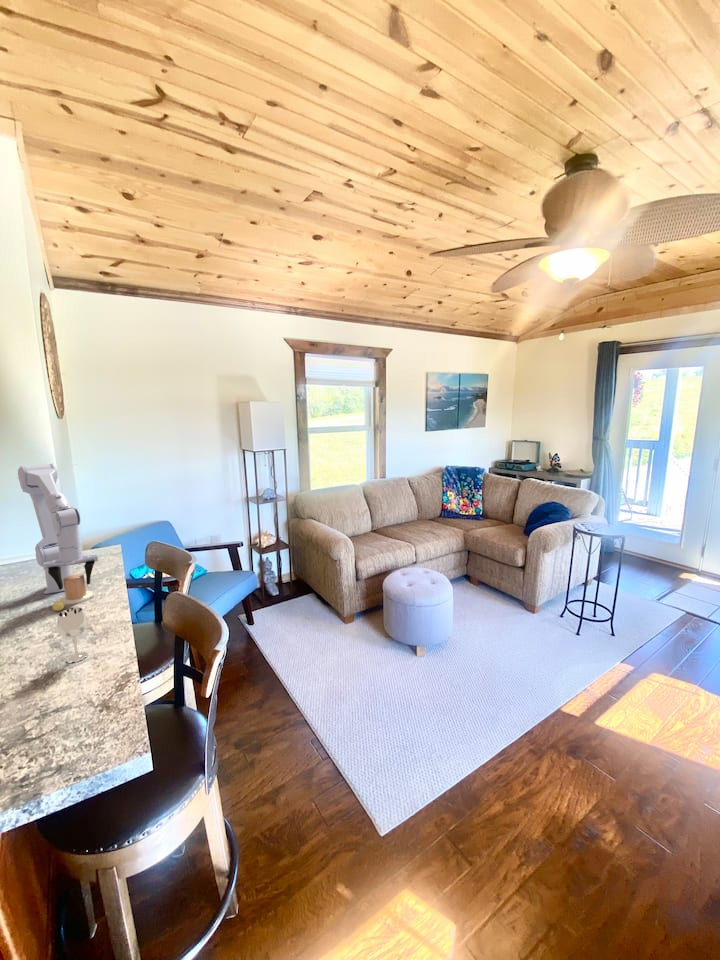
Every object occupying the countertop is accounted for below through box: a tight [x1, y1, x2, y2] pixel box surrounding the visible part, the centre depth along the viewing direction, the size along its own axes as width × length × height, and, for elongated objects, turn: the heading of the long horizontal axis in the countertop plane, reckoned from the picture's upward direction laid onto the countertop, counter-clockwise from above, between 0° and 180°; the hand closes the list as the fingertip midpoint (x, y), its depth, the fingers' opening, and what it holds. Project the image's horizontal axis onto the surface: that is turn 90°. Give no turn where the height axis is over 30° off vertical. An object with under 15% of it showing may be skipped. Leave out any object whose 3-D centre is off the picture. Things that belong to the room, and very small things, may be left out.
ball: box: [52, 600, 66, 612], centre depth 123 cm, size 3×3×3 cm
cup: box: [63, 573, 87, 600], centre depth 130 cm, size 6×6×7 cm
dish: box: [59, 590, 94, 606], centre depth 131 cm, size 9×9×1 cm
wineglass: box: [56, 606, 89, 661], centre depth 96 cm, size 6×6×12 cm
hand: (75, 585), depth 130 cm, fingers open, 7 cm apart
